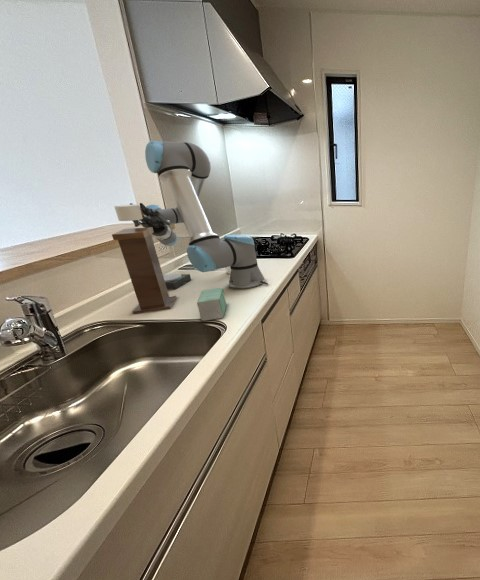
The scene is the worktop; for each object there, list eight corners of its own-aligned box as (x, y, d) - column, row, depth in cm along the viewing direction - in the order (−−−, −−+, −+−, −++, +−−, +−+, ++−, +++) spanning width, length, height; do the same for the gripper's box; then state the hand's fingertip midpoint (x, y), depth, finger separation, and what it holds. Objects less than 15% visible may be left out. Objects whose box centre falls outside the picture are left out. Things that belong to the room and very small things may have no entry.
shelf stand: (143, 302, 128) (119, 229, 117) (176, 297, 132) (157, 226, 121) (133, 314, 117) (106, 234, 107) (170, 308, 122) (147, 232, 111)
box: (226, 304, 125) (222, 286, 122) (224, 317, 113) (219, 299, 111) (206, 307, 123) (201, 289, 120) (201, 321, 111) (196, 302, 108)
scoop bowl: (139, 220, 112) (135, 205, 110) (115, 221, 109) (110, 206, 107) (155, 213, 130) (152, 201, 128) (135, 214, 127) (131, 201, 125)
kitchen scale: (191, 279, 154) (189, 272, 153) (175, 289, 142) (173, 281, 141) (164, 280, 154) (162, 273, 152) (146, 289, 142) (143, 282, 140)
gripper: (179, 235, 144) (160, 214, 122) (139, 238, 139) (112, 216, 117) (177, 219, 145) (158, 196, 123) (137, 222, 140) (110, 198, 118)
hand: (136, 206), depth 120 cm, fingers closed on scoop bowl, 2 cm apart
